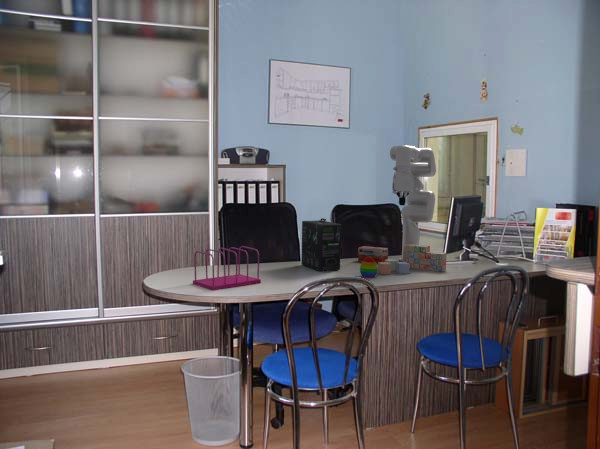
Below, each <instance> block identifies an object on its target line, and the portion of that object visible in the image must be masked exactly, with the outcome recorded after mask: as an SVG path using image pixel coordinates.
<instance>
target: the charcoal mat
mask: <svg viewBox="0 0 600 449" xmlns="http://www.w3.org/2000/svg"><path fill="white" fill-rule="evenodd" d="M410 274H411V272H409V273H408V274H407V275H410ZM376 275H379V276H385V275H386V276H388V275H400V274H399V273H396V272H395V271H391V274H380V273H378V268H377V274H376Z"/></svg>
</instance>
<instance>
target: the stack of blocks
mask: <svg viewBox="0 0 600 449" xmlns="http://www.w3.org/2000/svg"><path fill="white" fill-rule="evenodd" d="M447 256H448V255H447V252H441V251H431V245H426V244H419V245H413V244H407V245H404V251H403V261H402V262H407V263H409V269H416V270H425V271H426V270H427V271H435V272H436V271H437V272H440V273H443V272H446V271H447Z"/></svg>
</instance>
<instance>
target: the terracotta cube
mask: <svg viewBox="0 0 600 449" xmlns="http://www.w3.org/2000/svg"><path fill="white" fill-rule="evenodd" d="M377 269H378V273H380V274H390V275H392V274H391V263H388V262H378V263H377Z"/></svg>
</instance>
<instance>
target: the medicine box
mask: <svg viewBox="0 0 600 449" xmlns="http://www.w3.org/2000/svg"><path fill="white" fill-rule="evenodd" d="M357 249H358V251H357V259H358V260H357V261H358V262H362V261H363V260H364V259H365V258H366V257H372V258H373V259H374V260H375V262H376V264H378V262H385V260H386V259H389V249H388V247H378V246H377V247H375V246H365V245H363V246H359V247H358V248H357Z"/></svg>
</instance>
